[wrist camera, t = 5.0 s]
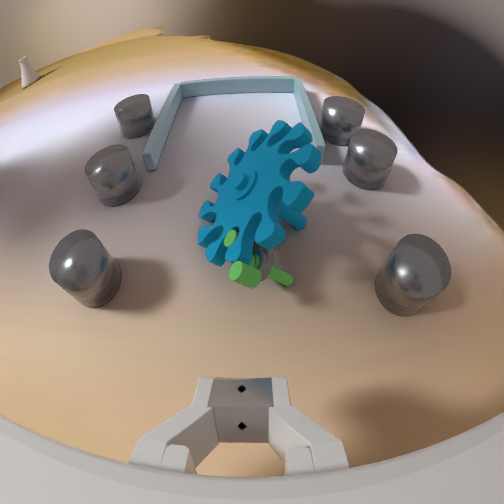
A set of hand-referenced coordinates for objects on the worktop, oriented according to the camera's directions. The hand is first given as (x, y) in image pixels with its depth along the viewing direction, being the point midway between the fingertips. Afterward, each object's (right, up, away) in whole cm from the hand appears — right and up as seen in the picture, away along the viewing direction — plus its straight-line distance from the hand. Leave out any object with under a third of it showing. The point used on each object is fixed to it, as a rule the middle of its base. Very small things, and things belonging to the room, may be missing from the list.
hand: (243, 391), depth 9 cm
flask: (-67, +56, +44) cm, 98 cm away
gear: (0, +6, +11) cm, 13 cm away
